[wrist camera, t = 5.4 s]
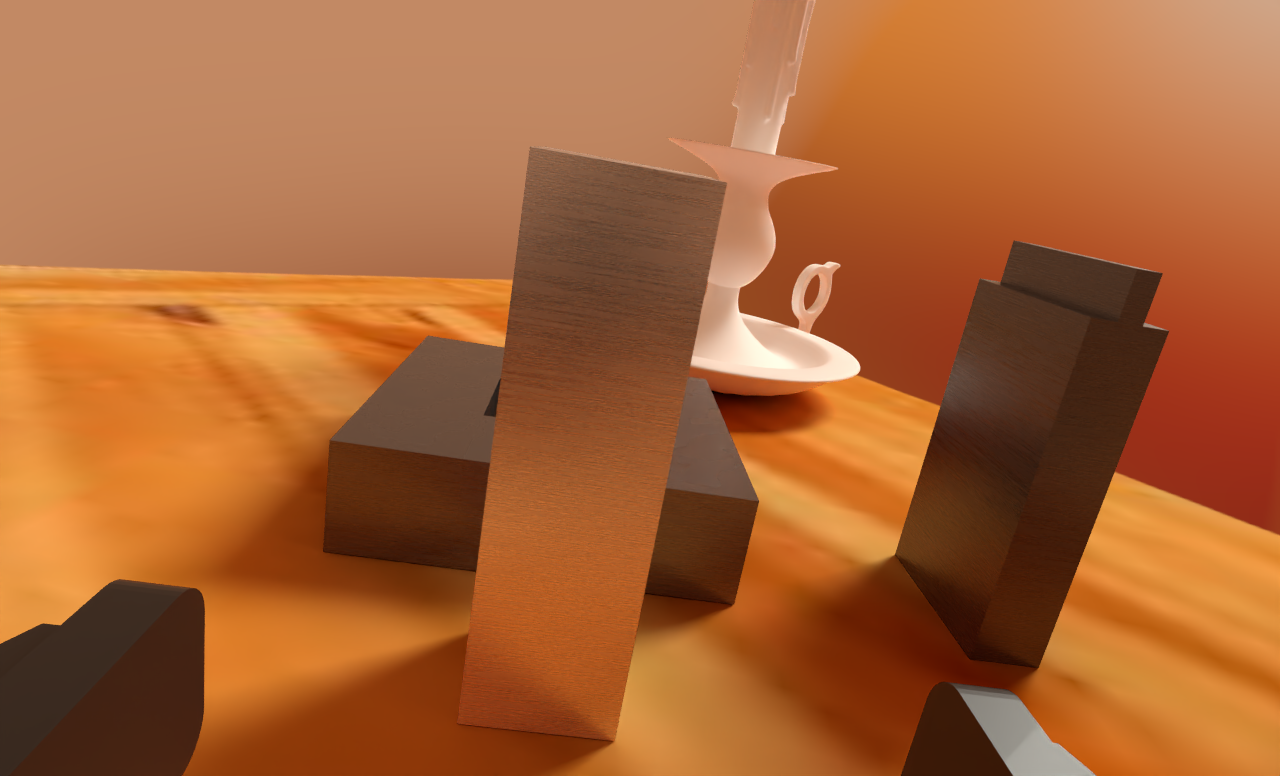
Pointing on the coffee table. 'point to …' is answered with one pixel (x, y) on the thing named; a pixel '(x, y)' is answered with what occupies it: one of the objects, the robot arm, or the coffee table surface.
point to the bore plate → (459, 467)
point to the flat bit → (1028, 445)
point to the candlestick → (761, 227)
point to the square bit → (583, 436)
